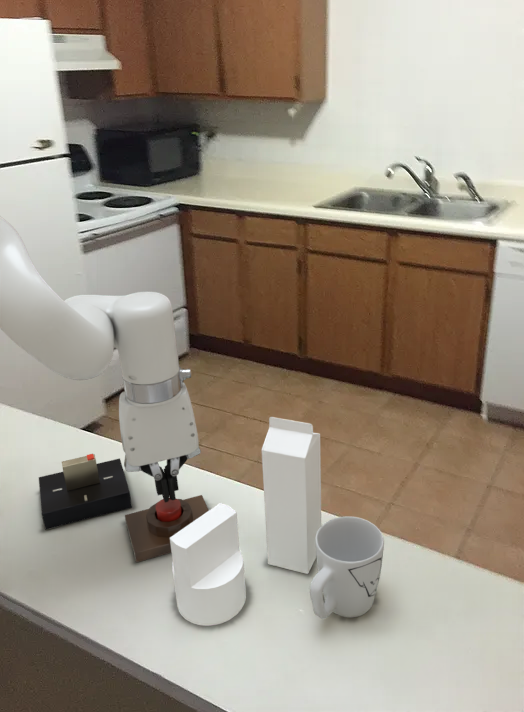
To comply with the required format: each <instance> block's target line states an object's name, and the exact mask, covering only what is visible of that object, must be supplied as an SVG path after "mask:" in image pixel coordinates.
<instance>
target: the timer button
mask: <svg viewBox="0 0 524 712" xmlns="http://www.w3.org/2000/svg"><path fill="white" fill-rule="evenodd" d="M178 499H179V498H176V500H173V501H172V500H170V497H169V501H168V502H164V499H163V498H161V499H160V500H158V501H157V502H158V503H157V502H156V503H157V504H156V503H155V504H156V513H157V518H158V520H160V521H161V522H171V521H174V520H177V519H178V518H180V516H181V514H182V511H181V503H180V501H179V500H178Z"/></svg>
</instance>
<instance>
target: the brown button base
mask: <svg viewBox="0 0 524 712" xmlns="http://www.w3.org/2000/svg"><path fill="white" fill-rule="evenodd" d="M177 499H178V500H179V501H180V503H181V511H182V514H181V516H180V518H178V519H177V520H174V521H171V522H161V521H160V520H158V518H157V513H156V504H157V503H158V502H159V501H157V502H156V503H154V504H153V505H151V506H150V507H149V508H147V509H142V510H138V511H135V512H131V513H128V514H124V520H125V525H126V528H127V533H128V536H129V540H130V544H131V548H132V552H133V555H134V556H133V557H134V559H135V562H136V563H140V562H143V561H147V560H150V559H154V558H158V557H161V556H164V555H168V554H172V552H171V544H170V537H172V536H173V535H174V534H176V533H177V532H179V531H180V530H182V529H183V528H185V527H186V526H187V525H189V524H190V523H192V522H193V521H195V520H196V519H198V518H199V517H200V516H202V515H203V514H205V513H206V512H208V511H209V510H210V509H209V507H208V505H207V503H206V501H205V498H204V496H203V494H200V495H196V496H191V497H188V498H184V499H182V498H177Z"/></svg>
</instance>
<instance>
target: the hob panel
mask: <svg viewBox="0 0 524 712" xmlns="http://www.w3.org/2000/svg"><path fill="white" fill-rule="evenodd" d="M96 464H97V469H98V475H99V481H100V483H97V484H93V485H89V486H85V487H81V488H77V489H73V490H69V491H67V487H66V482H65V477H64V473H63V471H59V472H55V473H50V474H47V475H42V476H39V477H38V485H39V486H38V487H39V496H40V507H41V516H42V521H43V525H44V529H45V531H47V530H51V529H55V528H57V527H62V526H67V525H70V524H73V523H77V522H81V521H85V520H89V519H93V518H96V517H101V516H105V515H108V514H113V513H117V512H120V511H124V510H127V509H132V508H133V504H132V498H131V492H130V488H129V485H128V481H127V478H126V474H125V470H124V468H123V467H124V466H123V464H122V461H121V458H115V459H111V460H107V461H102V462H98V463H96Z"/></svg>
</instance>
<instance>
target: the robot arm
mask: <svg viewBox="0 0 524 712" xmlns="http://www.w3.org/2000/svg"><path fill="white" fill-rule="evenodd" d="M0 330H1V331H2V332H3V333H4V334H5V335H6V336H7V337H8V338H9V339H10V340H11V341H12V342H13V343H15V345H17V346H18V347H19V348H21V349H22V350H23V351H24V352H25V353H27V354H28V355H30V356H31V357H32V358H34V359H35V360H36V361H38V362H39V363H40V364H42V365H43V366H44V367H46V368H47V369H49V370H50V371H52V372H54V373H55V374H56V375H59V376H61V377H63V378H66V379H68V380H73V381H88V380H92V379H95V378H97V377H99V376H100V375H101V374H103V373H104V372H105V371H106V369H107V368H108V367H109V366H110V364H111V362H112V360H113V356H114V348H115V349H116V350H117V352H118V358H119V365H120V366H119V367H120V371H121V376H122V377H121V378H122V385H123V389H124V391H122V392H121V393H120V394H119V398H118V421H119V429H120V430H119V431H120V439H121V446H122V449H123V453H124V462H123V467H124V469H125V470H124V471H125V472H127V473H137V472H143V473H144V474H147V475H148V476H150V477H153V479H154V484H155V491H156V494H157V496H162V499H164V502H168V501H169V498H170V500H172V501H173V500H176V499H177V498H176V497H177V496H176V492H177V491H179V484H178V483H179V481H178V475H179V474H180V470H181V468H182V467H183V466H184V465H185V463H186V462H187V461H188V460H190V459H192V458H194V457H197V456H199V455H200V454H201V452H202V450H201V448H200V446H199V434H198V428H197V423H196V418H195V412H194V409H193V404H192V401H191V397H190V393H189V391H188V387H187V385H186V383H185V381H186V380H188V379H191V378H192V371H191V368H185V367H184V368H182V367H181V366H180V362H179V353H178V346H177V337H176V336H177V335H176V329H175V320H174V311H173V305H172V302H171V300H170V299H169V297H168V296H166V295H165V294H163V293H161V292H158V291H157V292H156V291H136V292H133V293H129V294H126V295H105V294H77V295H72V296H70V297H68V298H66V299H65V300H64V299H63V298H62V297H60V295H59V294H58V293H57V292H56V291H55V290H54V289H53V288H52V287H51V286H50V285H49V284H48V283H47V282H46V281H45V279H44V278H43V277H42V276H41V274H40V273H39V271H38V270H37V268H36V266H35V265H34V263H33V261H32V259H31V256H30V254H29V252H28V250H27V247H26V245H25V243H24V241H23V239H22V237H21V235H20V234H19V233H18V231H17V230H16V228H15V227H14V226H13V225H12V224H11V223H9V222H8V221H7V220H6V219H5V218H3V217H2V216H1V215H0ZM164 461H166V465H165V466H164V468H162V466H160V465H159V462H164Z"/></svg>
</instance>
